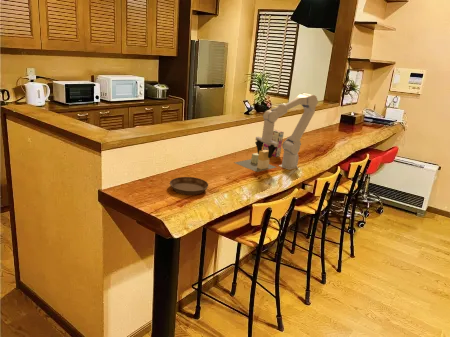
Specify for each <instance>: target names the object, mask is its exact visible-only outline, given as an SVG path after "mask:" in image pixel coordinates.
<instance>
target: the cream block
mask: <svg viewBox="0 0 450 337" xmlns="http://www.w3.org/2000/svg"><path fill="white" fill-rule="evenodd" d="M269 164H270V159H269V160H265V161H261V160H259V159H258V164H257V168H259V169H266V168H268V167H269Z"/></svg>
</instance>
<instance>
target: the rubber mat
mask: <svg viewBox="0 0 450 337" xmlns="http://www.w3.org/2000/svg"><path fill="white" fill-rule="evenodd" d="M233 163H234V164H235V165H239V166H241V167H243V168H245V169H248V170H251V171H253V172H256V173H259V172H263V171H267V170H271V169H275V168H276V169H277V166H275V165H272V164H270V163H269V167H268V168H266V169H259V168H257V164H258V163H256V164H255V163H253V162H251V159H246V160H245V159H244V160H240V161H235V162H233Z"/></svg>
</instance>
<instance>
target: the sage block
mask: <svg viewBox="0 0 450 337" xmlns="http://www.w3.org/2000/svg"><path fill="white" fill-rule="evenodd" d="M258 155H259V154H258V152H256V153H255V152H254V153H251V162H253V163H255V164H256V163H258Z"/></svg>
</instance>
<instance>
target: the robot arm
mask: <svg viewBox="0 0 450 337" xmlns="http://www.w3.org/2000/svg"><path fill="white" fill-rule="evenodd" d="M318 103H319V100H318V97H317V96H316V94H315V95H314V94H310V93H307V92H302V93H300V94H298V95H297V96H296V97H294V98H293V99H292V100H289V101H288V102H287V103H285V104H284V103H279V104H278V105H277V106H276V107H273V108H271V109H267V110H265V111H264V113H263V114H262V118H263V128H262V134H261V136H256V137H255V146H256V149H257V150H256V151H257V153H258V154H259V151H261V150H263V146H264V143H266V144H270V145H271V146H268V149H269V153H268V158H270V159H272V157H273V156H272V154H273V152H274V151H275V149H276V148H277V146H278V143H276V142H274V141H272V136H273V130H275V123H276V122H277V121H278V119H279V118H280V117H282V116H284V115H286V114H288V111H289V110H291V109H293V108H295V107H297V106H299V105H301V107H302V108H303V113H302V115H301V117H300V118H299V121H298V123H297V124H296V126H295V128H294V130H293V131H292V134H291V135H290V136H287V138H286V139H285V140H284V141H282V146H281V148H282V149H283V154H282V162H281V164H279V165H278V167H280V168H282V169H286V170H293V169H297V168H299V166H298V163H299V154H298V153H300V149H301V146H302V142H301V139H302V137H303V135H304V133H305V131H306V130H307V127H308V126H309V125H310V122H311V120H312V118H313V117H314V114H315V112H316V107H317V105H318Z"/></svg>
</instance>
